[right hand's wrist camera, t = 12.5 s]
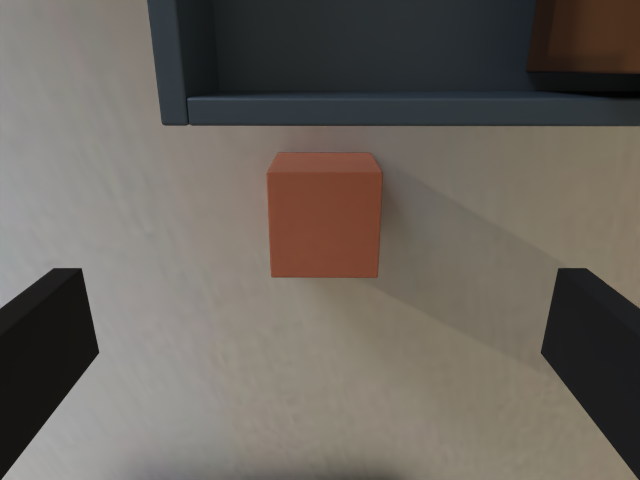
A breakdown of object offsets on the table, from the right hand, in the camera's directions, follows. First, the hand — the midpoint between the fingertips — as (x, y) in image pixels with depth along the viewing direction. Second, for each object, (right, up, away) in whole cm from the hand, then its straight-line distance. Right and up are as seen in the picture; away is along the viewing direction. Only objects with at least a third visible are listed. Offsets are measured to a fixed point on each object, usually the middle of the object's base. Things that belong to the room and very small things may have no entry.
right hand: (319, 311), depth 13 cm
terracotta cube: (0, +4, +12) cm, 13 cm away
